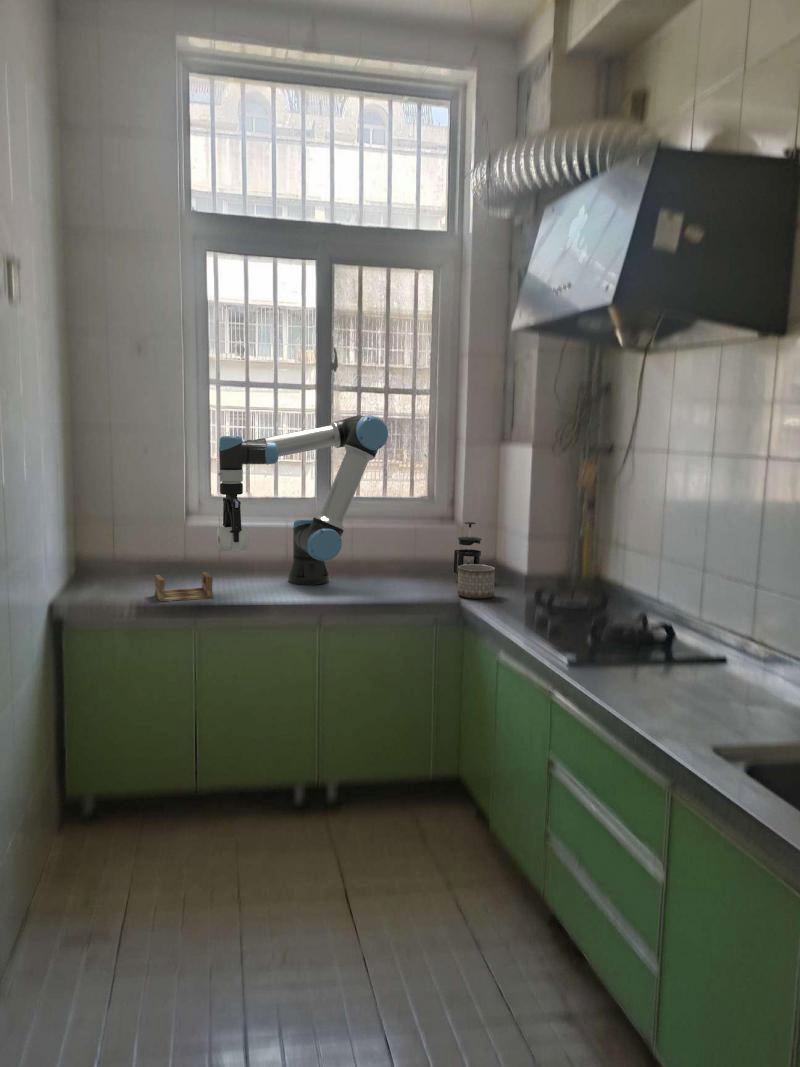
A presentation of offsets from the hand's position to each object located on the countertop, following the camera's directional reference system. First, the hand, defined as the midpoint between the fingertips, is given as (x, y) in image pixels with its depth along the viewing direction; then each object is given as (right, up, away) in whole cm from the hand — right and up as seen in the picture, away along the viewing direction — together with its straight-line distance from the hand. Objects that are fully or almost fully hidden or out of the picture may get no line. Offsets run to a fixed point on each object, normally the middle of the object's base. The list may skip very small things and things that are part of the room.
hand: (232, 549), depth 279 cm
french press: (+82, -13, +33) cm, 89 cm away
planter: (+83, -17, +8) cm, 85 cm away
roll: (0, 0, 0) cm, 0 cm away
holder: (-15, -16, -5) cm, 22 cm away
